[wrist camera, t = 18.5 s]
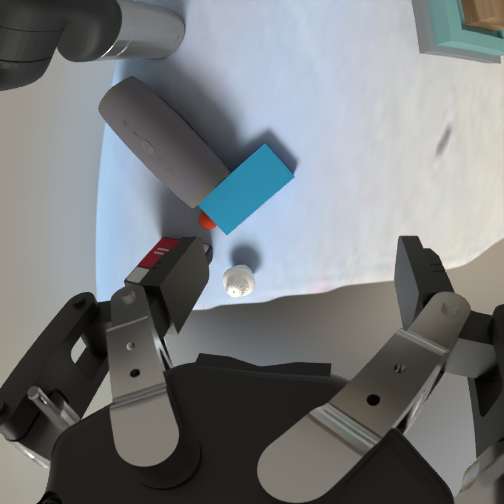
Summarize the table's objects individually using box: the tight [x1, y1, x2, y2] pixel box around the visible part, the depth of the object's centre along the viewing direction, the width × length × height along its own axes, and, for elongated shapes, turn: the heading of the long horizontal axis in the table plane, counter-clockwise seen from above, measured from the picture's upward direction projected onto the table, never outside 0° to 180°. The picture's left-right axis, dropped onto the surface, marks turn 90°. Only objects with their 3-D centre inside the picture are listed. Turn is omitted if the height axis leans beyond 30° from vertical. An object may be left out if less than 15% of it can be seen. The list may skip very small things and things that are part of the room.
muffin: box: [223, 264, 255, 298], centre depth 59 cm, size 6×6×7 cm
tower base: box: [412, 0, 504, 63], centre depth 25 cm, size 12×12×11 cm
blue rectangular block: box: [198, 143, 295, 235], centre depth 52 cm, size 7×7×18 cm
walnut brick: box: [461, 0, 504, 31], centre depth 18 cm, size 4×4×8 cm
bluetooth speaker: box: [98, 76, 230, 208], centre depth 46 cm, size 23×9×10 cm, turn 44°
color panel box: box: [124, 238, 212, 287], centre depth 56 cm, size 11×4×15 cm, turn 88°
